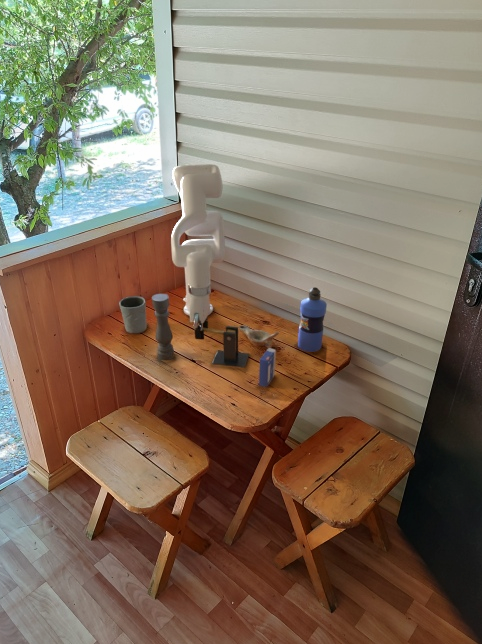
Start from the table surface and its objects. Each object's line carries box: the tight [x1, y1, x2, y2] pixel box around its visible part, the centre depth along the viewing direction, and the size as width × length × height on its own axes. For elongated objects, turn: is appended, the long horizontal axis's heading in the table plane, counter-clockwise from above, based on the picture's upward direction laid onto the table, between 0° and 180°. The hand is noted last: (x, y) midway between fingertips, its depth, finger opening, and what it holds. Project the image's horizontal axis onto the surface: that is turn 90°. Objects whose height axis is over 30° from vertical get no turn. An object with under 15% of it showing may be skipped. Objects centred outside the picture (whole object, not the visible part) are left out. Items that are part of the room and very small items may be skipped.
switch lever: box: [200, 324, 236, 336], centre depth 169 cm, size 13×5×2 cm, turn 80°
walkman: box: [258, 347, 277, 388], centre depth 161 cm, size 8×3×12 cm, turn 156°
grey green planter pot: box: [118, 295, 148, 334], centre depth 191 cm, size 10×10×12 cm
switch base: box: [212, 325, 250, 368], centre depth 171 cm, size 12×9×13 cm
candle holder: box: [151, 293, 175, 363], centre depth 169 cm, size 6×6×25 cm
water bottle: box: [297, 287, 328, 353], centre depth 176 cm, size 9×9×25 cm
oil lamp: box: [238, 324, 279, 349], centre depth 183 cm, size 9×21×10 cm, turn 40°
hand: (201, 334), depth 171 cm, fingers closed on switch lever, 5 cm apart
